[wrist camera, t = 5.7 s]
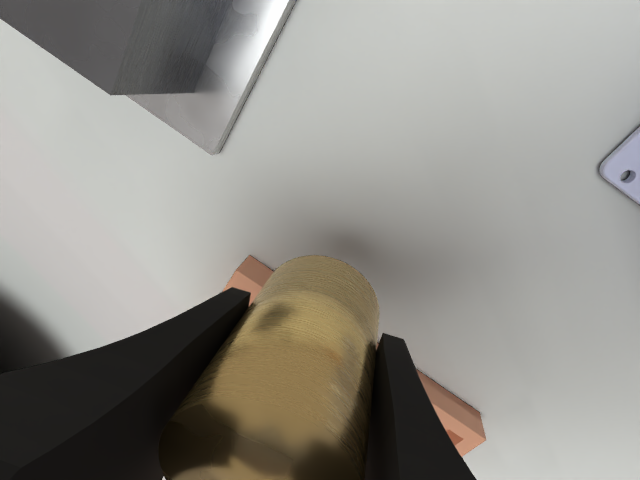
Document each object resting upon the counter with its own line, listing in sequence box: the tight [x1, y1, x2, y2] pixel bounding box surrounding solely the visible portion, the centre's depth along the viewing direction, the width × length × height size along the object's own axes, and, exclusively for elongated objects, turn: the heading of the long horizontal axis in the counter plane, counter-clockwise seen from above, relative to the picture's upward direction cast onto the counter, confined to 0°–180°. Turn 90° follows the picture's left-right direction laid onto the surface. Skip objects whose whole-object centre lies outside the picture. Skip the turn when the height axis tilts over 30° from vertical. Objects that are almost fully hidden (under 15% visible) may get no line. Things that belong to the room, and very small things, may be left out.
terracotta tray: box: [222, 255, 486, 457], centre depth 22 cm, size 16×10×2 cm, turn 57°
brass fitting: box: [158, 255, 379, 480], centre depth 10 cm, size 4×4×6 cm
